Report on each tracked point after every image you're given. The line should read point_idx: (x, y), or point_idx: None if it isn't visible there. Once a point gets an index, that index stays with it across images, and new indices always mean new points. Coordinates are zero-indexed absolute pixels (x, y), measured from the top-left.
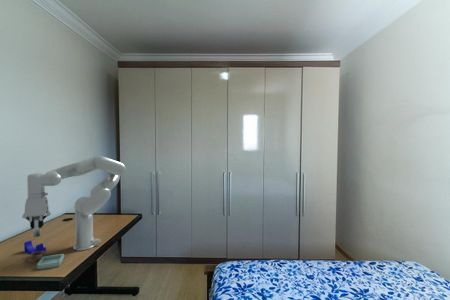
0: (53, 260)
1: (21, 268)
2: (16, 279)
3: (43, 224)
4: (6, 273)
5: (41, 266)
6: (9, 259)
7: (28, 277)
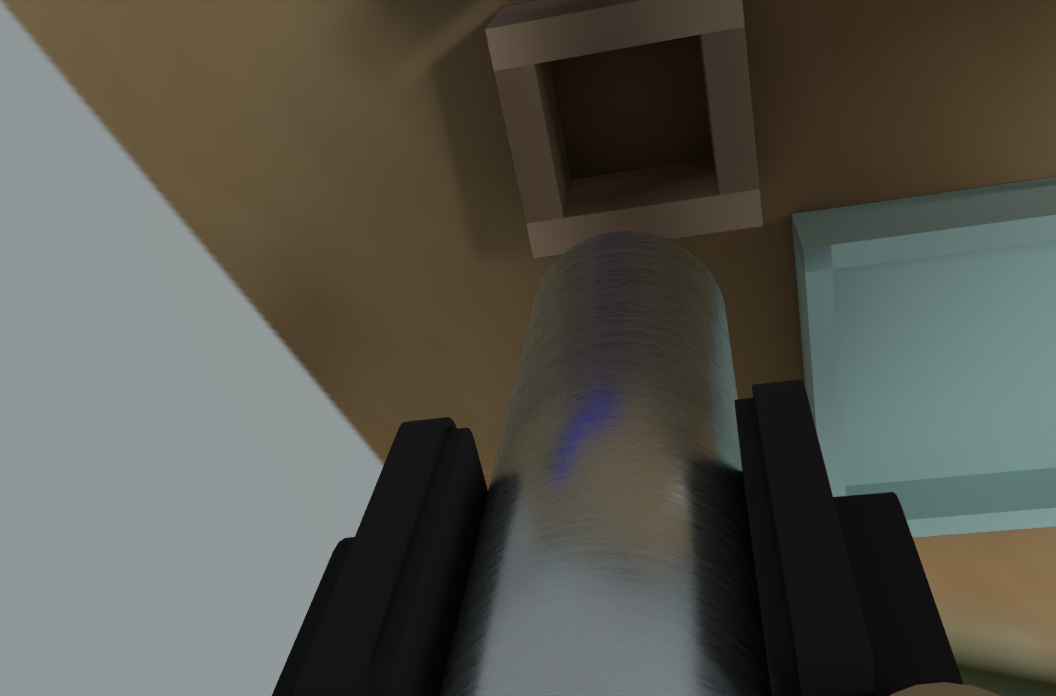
0: (1002, 281)
1: None
2: None
3: (901, 508)
4: None
5: None
6: (108, 32)
7: None
